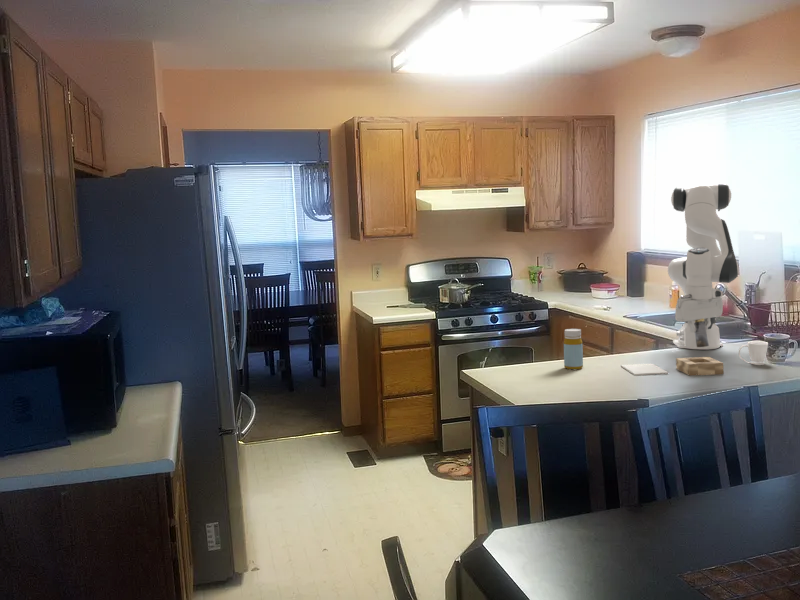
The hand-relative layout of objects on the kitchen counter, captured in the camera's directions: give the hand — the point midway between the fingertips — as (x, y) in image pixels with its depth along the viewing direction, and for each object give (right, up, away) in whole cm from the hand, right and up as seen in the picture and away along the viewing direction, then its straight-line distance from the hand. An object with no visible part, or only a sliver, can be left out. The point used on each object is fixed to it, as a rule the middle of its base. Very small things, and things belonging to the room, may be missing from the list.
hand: (699, 331), depth 243 cm
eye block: (+1, -15, +1) cm, 15 cm away
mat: (-17, -15, +8) cm, 24 cm away
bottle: (-41, -15, +17) cm, 47 cm away
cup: (+25, -13, +10) cm, 30 cm away
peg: (+1, -5, -1) cm, 5 cm away
